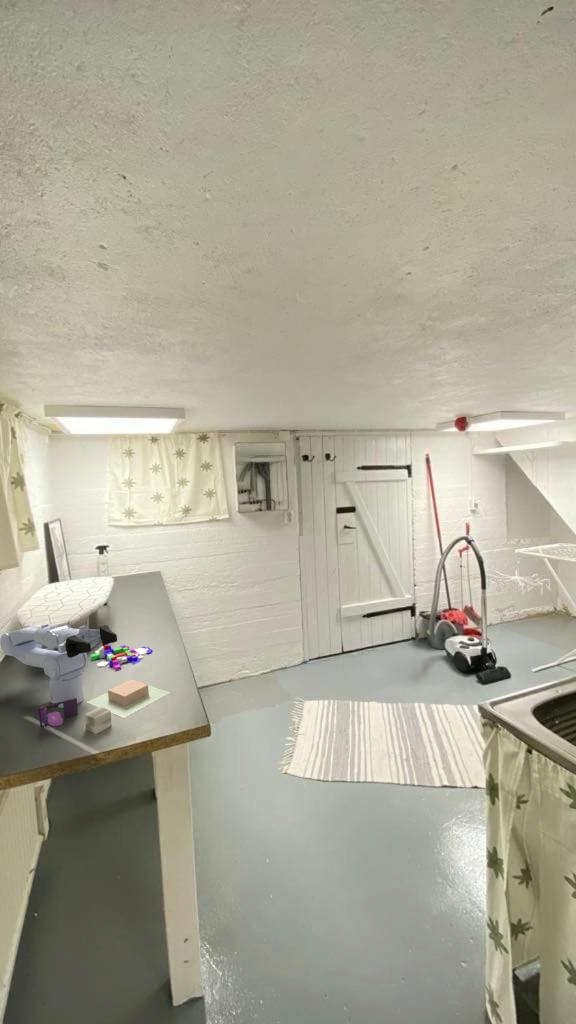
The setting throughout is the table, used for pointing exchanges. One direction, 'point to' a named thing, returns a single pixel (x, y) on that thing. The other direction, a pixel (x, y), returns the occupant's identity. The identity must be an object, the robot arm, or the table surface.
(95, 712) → the top brick
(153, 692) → the base plate
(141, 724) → the table surface
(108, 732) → the table surface
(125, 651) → the building block set
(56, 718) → the purple and pink piece
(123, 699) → the base brick
